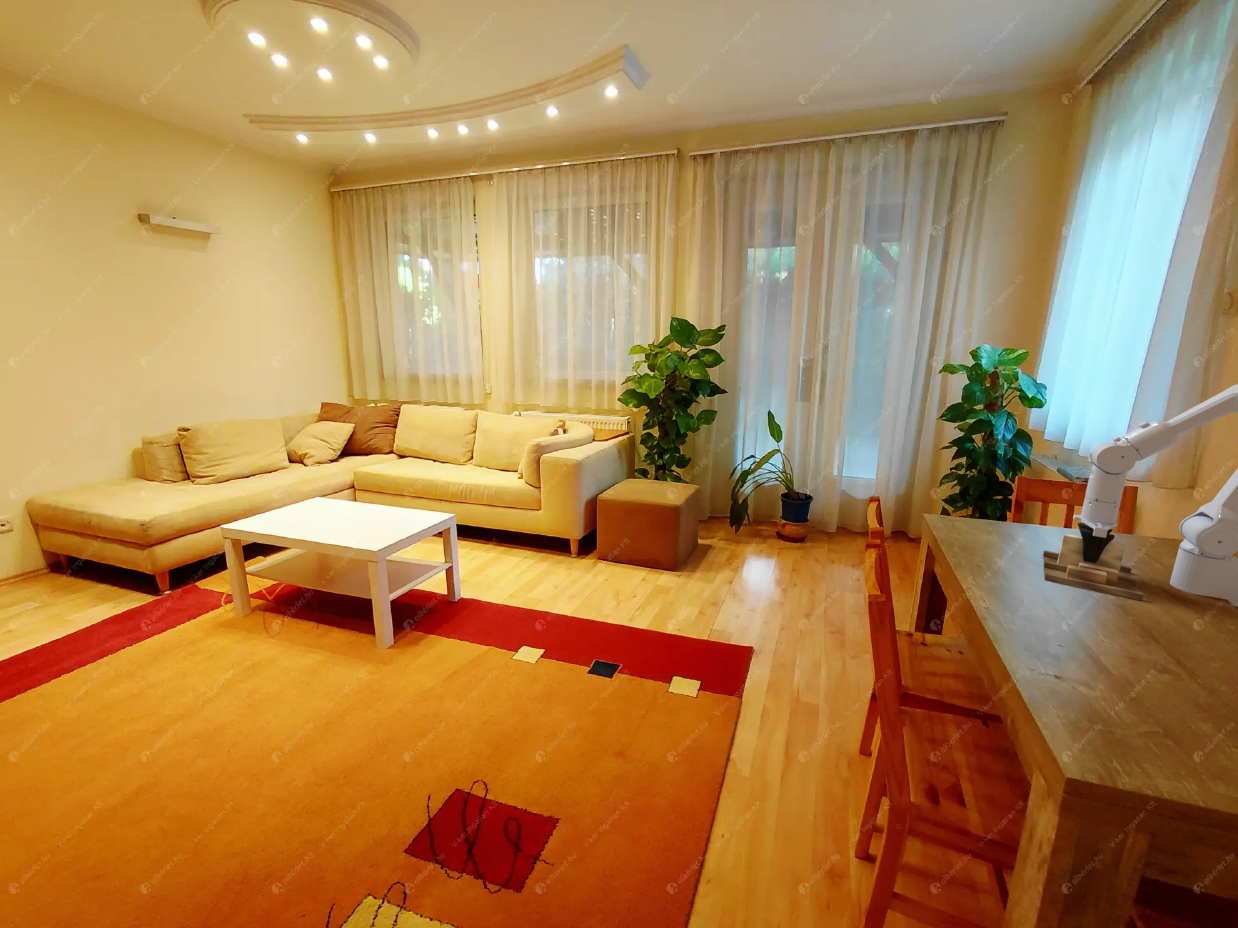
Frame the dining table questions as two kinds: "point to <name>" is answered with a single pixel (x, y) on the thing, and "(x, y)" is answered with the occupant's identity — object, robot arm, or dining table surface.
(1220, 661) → the dining table surface
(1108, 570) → the teak offcut
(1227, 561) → the robot arm
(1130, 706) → the dining table surface
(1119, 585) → the walnut rack
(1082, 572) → the teak offcut
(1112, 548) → the birch panel
